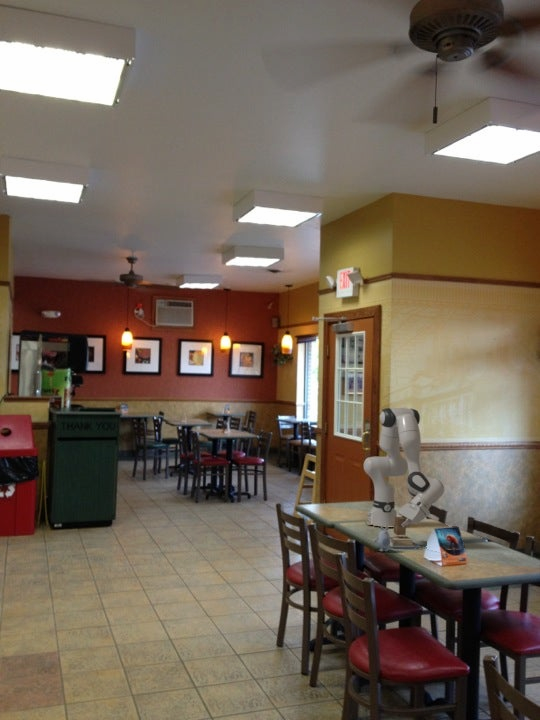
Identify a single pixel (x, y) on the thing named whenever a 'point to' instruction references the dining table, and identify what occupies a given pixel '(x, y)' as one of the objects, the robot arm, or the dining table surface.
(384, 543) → the toy figure
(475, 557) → the dining table surface
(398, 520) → the walnut pillar
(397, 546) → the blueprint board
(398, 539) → the oak pedestal
